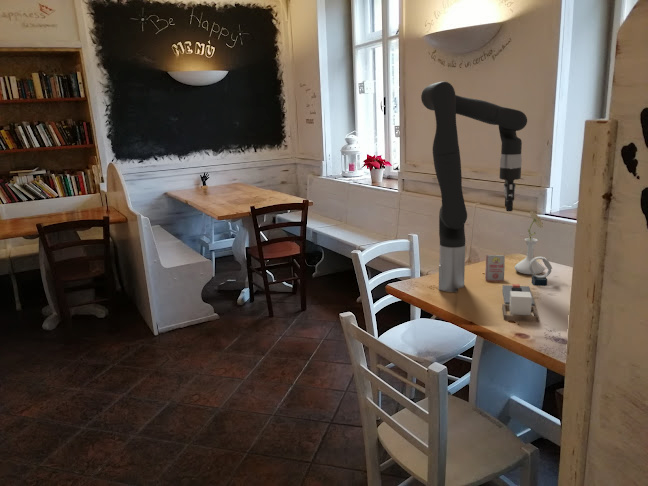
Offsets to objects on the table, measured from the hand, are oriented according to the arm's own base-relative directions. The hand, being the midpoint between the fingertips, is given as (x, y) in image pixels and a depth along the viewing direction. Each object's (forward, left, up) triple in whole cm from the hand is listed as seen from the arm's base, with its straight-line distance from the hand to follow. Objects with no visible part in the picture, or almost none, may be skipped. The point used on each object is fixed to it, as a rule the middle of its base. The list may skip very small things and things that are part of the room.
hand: (508, 209), depth 193 cm
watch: (+12, -5, -28) cm, 31 cm away
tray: (+2, -40, -28) cm, 49 cm away
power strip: (+2, -26, -28) cm, 38 cm away
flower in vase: (+10, +11, -28) cm, 32 cm away
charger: (+2, -40, -28) cm, 49 cm away
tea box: (-4, -1, -28) cm, 29 cm away
